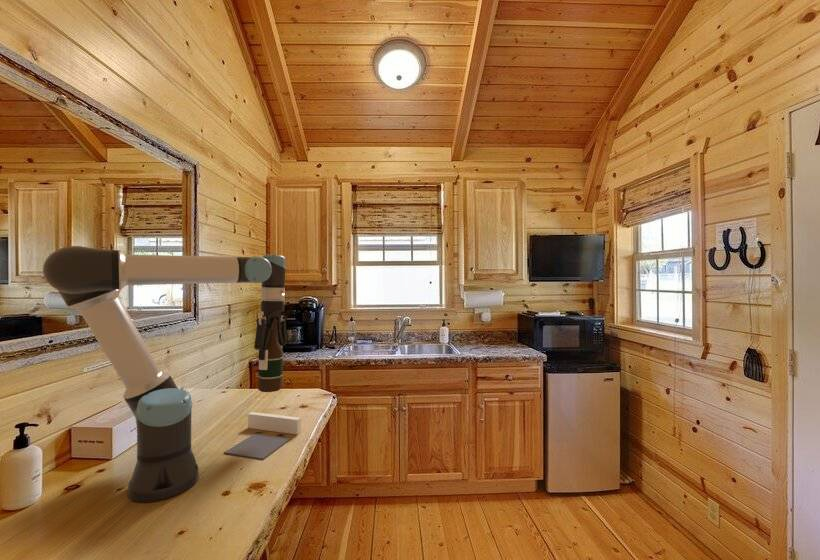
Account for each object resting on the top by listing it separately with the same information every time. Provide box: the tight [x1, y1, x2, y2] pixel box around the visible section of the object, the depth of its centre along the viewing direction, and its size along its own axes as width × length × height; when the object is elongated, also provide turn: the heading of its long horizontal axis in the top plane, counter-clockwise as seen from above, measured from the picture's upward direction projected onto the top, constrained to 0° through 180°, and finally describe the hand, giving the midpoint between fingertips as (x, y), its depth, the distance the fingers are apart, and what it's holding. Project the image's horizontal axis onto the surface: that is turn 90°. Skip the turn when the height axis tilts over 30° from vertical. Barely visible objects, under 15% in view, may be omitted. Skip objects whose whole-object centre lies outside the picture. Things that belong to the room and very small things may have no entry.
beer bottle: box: [257, 319, 284, 393], centre depth 123 cm, size 8×8×24 cm
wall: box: [247, 411, 302, 435], centre depth 127 cm, size 2×20×5 cm, turn 75°
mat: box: [223, 432, 292, 461], centre depth 115 cm, size 14×14×1 cm
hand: (270, 366), depth 123 cm, fingers closed on beer bottle, 8 cm apart
